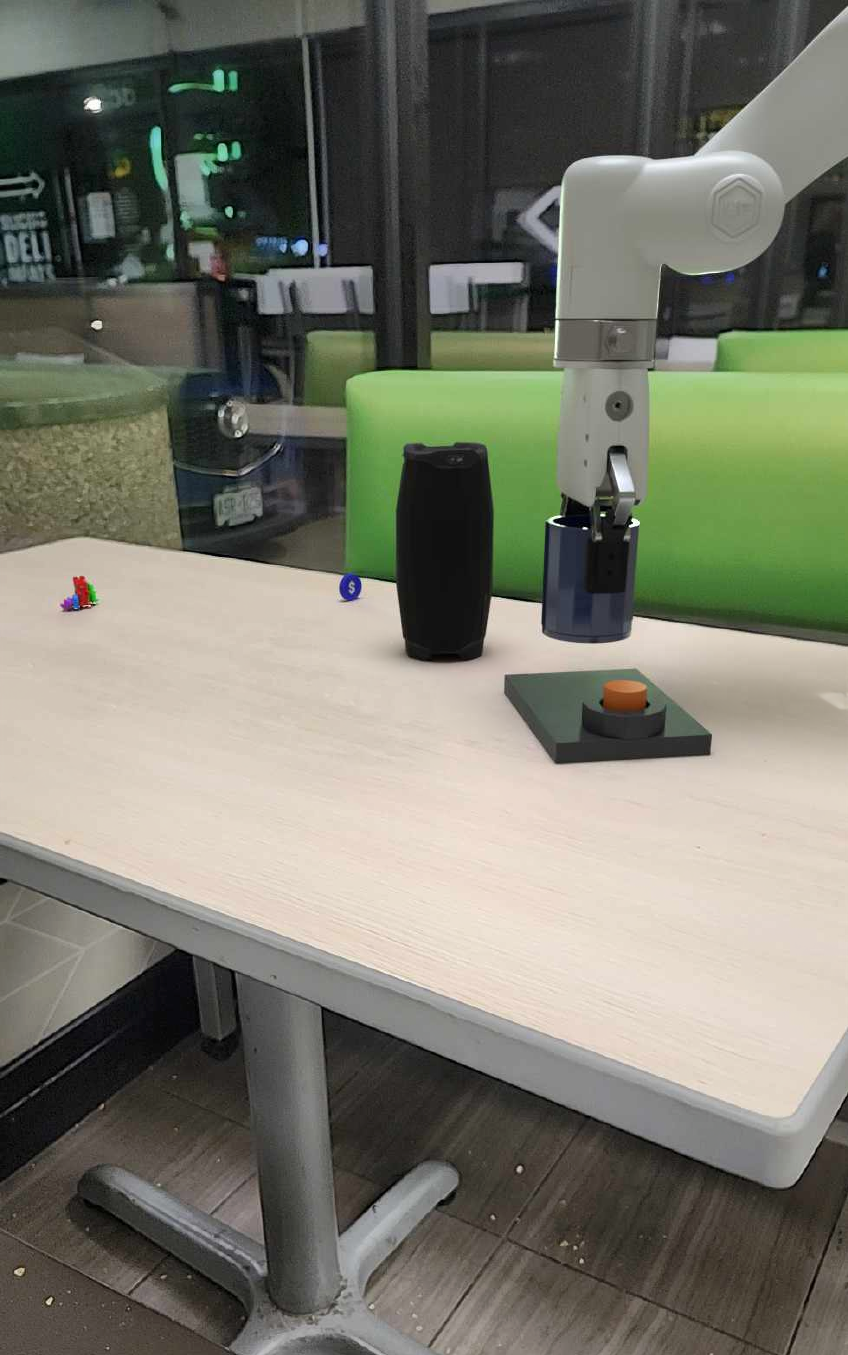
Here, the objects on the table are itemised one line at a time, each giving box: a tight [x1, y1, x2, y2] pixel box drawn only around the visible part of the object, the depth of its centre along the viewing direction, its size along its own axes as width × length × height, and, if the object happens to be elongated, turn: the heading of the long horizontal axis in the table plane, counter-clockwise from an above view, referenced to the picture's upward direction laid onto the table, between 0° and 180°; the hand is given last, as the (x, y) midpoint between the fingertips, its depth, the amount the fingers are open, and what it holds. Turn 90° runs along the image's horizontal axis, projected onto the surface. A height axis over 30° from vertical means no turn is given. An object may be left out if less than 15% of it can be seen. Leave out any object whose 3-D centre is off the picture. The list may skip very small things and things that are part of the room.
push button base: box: [503, 668, 713, 765], centre depth 93 cm, size 12×18×4 cm, turn 9°
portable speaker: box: [395, 441, 495, 662], centre depth 109 cm, size 9×9×20 cm
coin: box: [338, 573, 363, 601], centre depth 134 cm, size 3×1×3 cm, turn 138°
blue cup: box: [540, 514, 641, 645], centre depth 93 cm, size 7×7×9 cm
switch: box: [603, 680, 647, 711], centre depth 87 cm, size 3×3×2 cm
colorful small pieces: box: [60, 575, 100, 611], centre depth 131 cm, size 5×3×4 cm, turn 131°
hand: (589, 580), depth 93 cm, fingers closed on blue cup, 7 cm apart
